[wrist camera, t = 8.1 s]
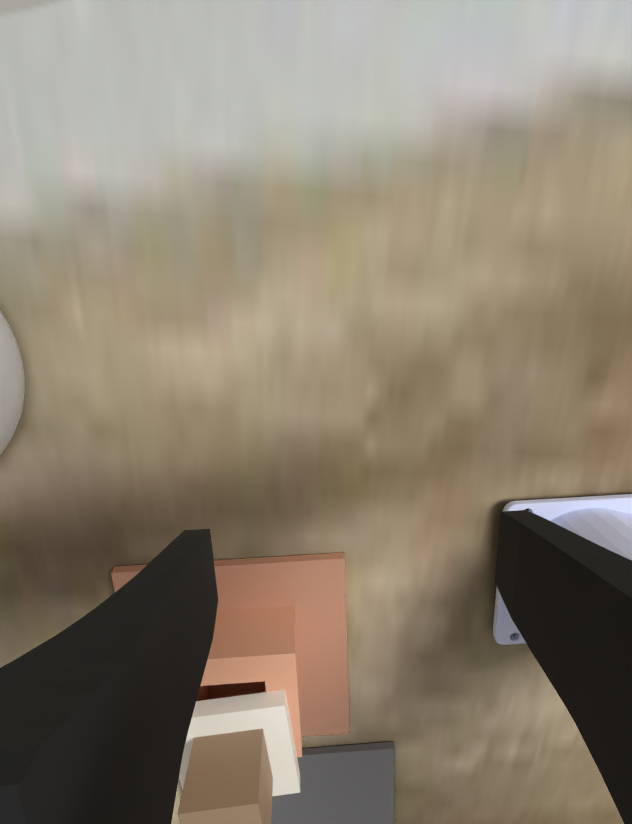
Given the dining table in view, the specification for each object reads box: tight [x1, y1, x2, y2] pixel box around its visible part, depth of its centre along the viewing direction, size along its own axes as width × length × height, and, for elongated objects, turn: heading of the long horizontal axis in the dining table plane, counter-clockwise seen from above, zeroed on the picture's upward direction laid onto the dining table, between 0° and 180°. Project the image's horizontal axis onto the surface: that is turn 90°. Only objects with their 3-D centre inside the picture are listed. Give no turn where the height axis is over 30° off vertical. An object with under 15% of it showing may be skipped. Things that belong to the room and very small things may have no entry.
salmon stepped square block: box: [111, 552, 349, 757], centre depth 23 cm, size 11×11×4 cm
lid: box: [178, 690, 300, 824], centre depth 20 cm, size 5×5×4 cm
